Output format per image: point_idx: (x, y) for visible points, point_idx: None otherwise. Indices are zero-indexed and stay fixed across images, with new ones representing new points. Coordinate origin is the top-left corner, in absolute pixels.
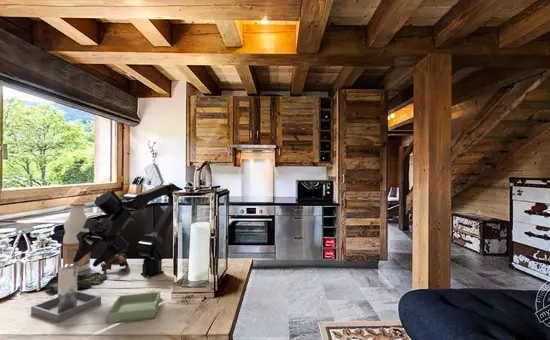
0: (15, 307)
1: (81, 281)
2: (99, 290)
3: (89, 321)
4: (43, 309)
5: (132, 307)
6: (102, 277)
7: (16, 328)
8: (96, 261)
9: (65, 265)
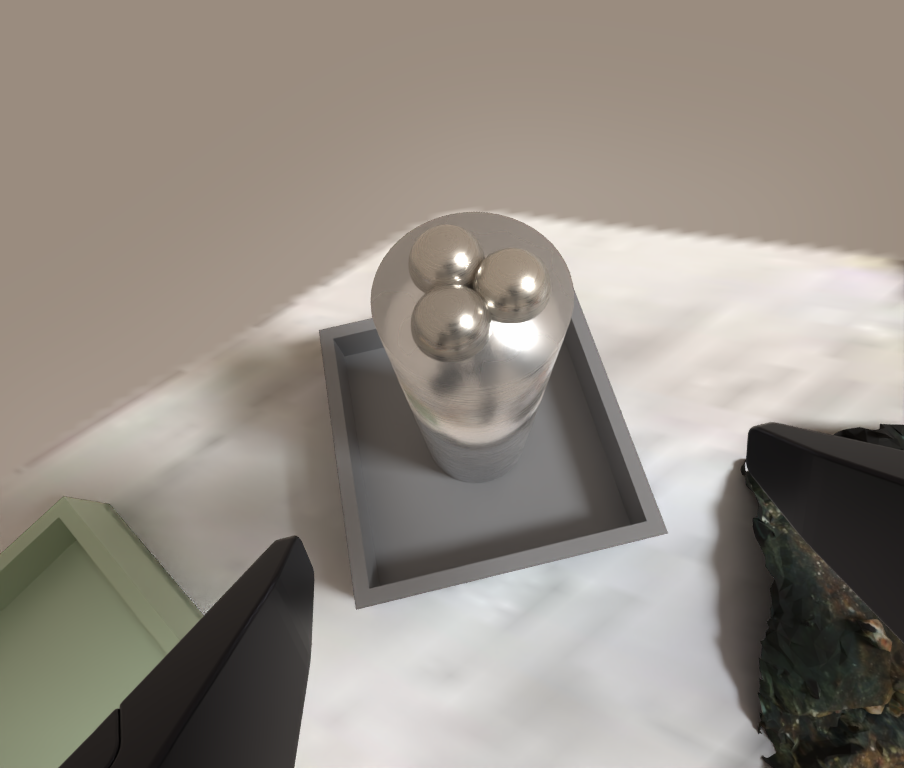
0: (747, 278)
1: (900, 667)
2: (673, 739)
3: (224, 462)
4: None
5: (93, 722)
6: None
7: None
8: (234, 589)
9: (496, 253)
